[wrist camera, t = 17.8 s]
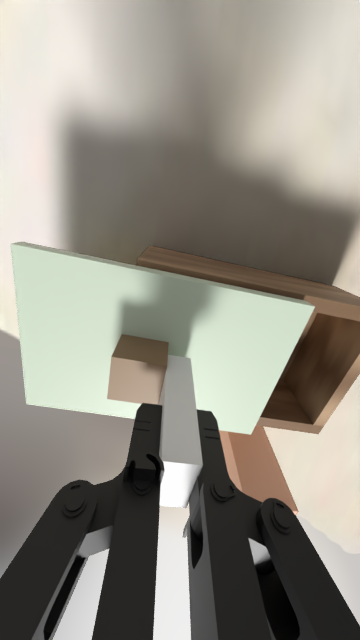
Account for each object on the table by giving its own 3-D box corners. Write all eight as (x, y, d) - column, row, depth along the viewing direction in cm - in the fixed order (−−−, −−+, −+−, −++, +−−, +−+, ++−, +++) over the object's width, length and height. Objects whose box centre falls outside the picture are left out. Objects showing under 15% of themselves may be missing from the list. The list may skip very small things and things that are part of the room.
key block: (223, 414, 29) (245, 506, 20) (260, 419, 29) (298, 511, 20) (212, 440, 31) (228, 534, 22) (247, 444, 31) (276, 538, 22)
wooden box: (149, 245, 20) (137, 259, 13) (333, 286, 22) (399, 314, 15) (132, 356, 25) (118, 405, 18) (284, 381, 27) (318, 434, 20)
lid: (22, 241, 13) (-30, 250, 9) (306, 300, 14) (343, 324, 11) (34, 394, 17) (2, 434, 14) (247, 424, 19) (261, 465, 16)
